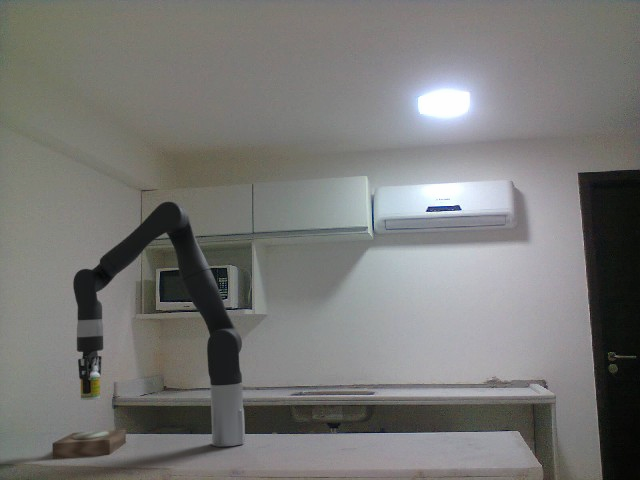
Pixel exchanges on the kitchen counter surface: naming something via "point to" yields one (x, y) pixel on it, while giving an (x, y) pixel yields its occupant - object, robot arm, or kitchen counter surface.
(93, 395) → the supplement bottle
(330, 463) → the kitchen counter surface
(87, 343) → the robot arm
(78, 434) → the plinth
